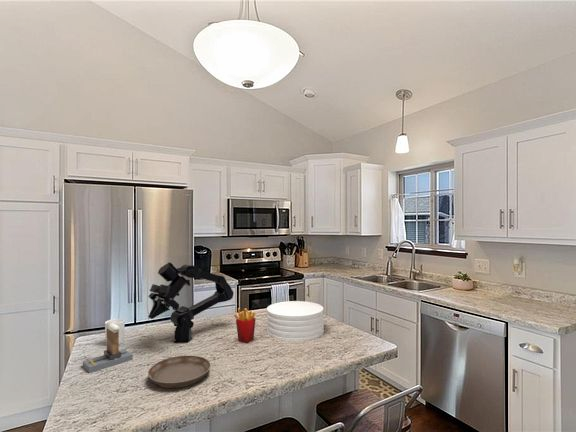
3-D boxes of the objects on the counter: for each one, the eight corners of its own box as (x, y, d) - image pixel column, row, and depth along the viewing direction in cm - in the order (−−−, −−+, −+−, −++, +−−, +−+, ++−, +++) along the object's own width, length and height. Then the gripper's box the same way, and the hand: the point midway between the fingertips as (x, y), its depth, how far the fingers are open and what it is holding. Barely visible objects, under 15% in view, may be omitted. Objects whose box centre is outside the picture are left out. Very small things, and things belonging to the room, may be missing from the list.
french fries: (245, 336, 149) (245, 304, 149) (259, 340, 144) (258, 307, 144) (232, 342, 141) (231, 309, 142) (246, 346, 137) (245, 311, 137)
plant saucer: (220, 366, 118) (220, 357, 118) (191, 395, 98) (191, 385, 98) (171, 361, 123) (171, 352, 123) (134, 388, 103) (134, 378, 103)
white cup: (104, 348, 137) (104, 324, 137) (105, 342, 144) (105, 320, 144) (124, 344, 141) (124, 322, 141) (124, 339, 148) (124, 317, 148)
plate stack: (333, 327, 161) (332, 305, 161) (306, 345, 137) (305, 319, 137) (286, 319, 176) (286, 298, 176) (255, 334, 152) (255, 310, 153)
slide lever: (114, 351, 127) (114, 320, 127) (121, 356, 122) (121, 324, 123) (103, 354, 124) (103, 323, 124) (110, 359, 119) (110, 326, 120)
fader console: (124, 354, 130) (124, 348, 130) (132, 359, 125) (132, 354, 125) (82, 366, 119) (82, 360, 119) (89, 372, 114) (89, 367, 114)
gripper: (152, 274, 145) (127, 303, 136) (172, 279, 132) (145, 311, 124) (169, 289, 150) (145, 318, 142) (189, 294, 138) (165, 326, 129)
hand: (149, 318), depth 134 cm, fingers closed
